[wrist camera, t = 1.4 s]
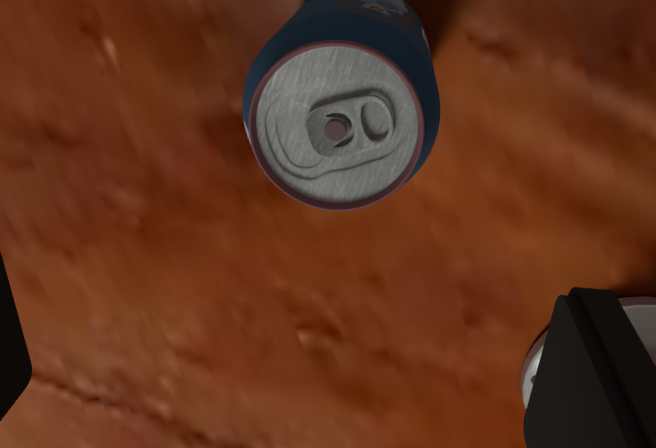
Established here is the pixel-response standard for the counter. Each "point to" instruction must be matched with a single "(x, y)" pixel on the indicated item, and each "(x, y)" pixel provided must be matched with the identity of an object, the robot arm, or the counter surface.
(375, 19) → the soda can
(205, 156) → the counter surface
